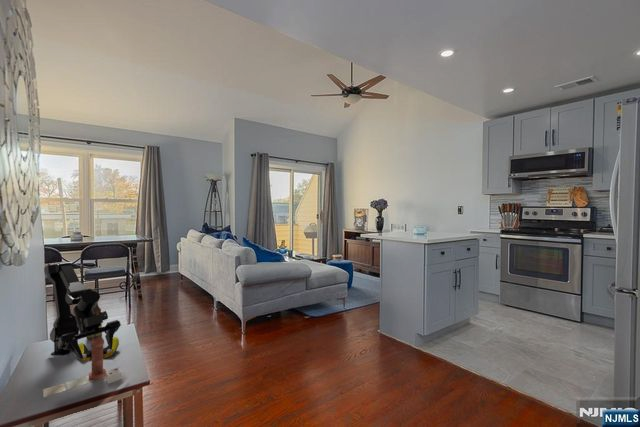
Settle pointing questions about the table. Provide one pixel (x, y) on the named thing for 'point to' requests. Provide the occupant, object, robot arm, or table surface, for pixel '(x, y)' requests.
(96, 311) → the sauce bottle
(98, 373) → the pawn
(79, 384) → the game board
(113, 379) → the die
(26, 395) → the table surface
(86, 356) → the gaming controller
